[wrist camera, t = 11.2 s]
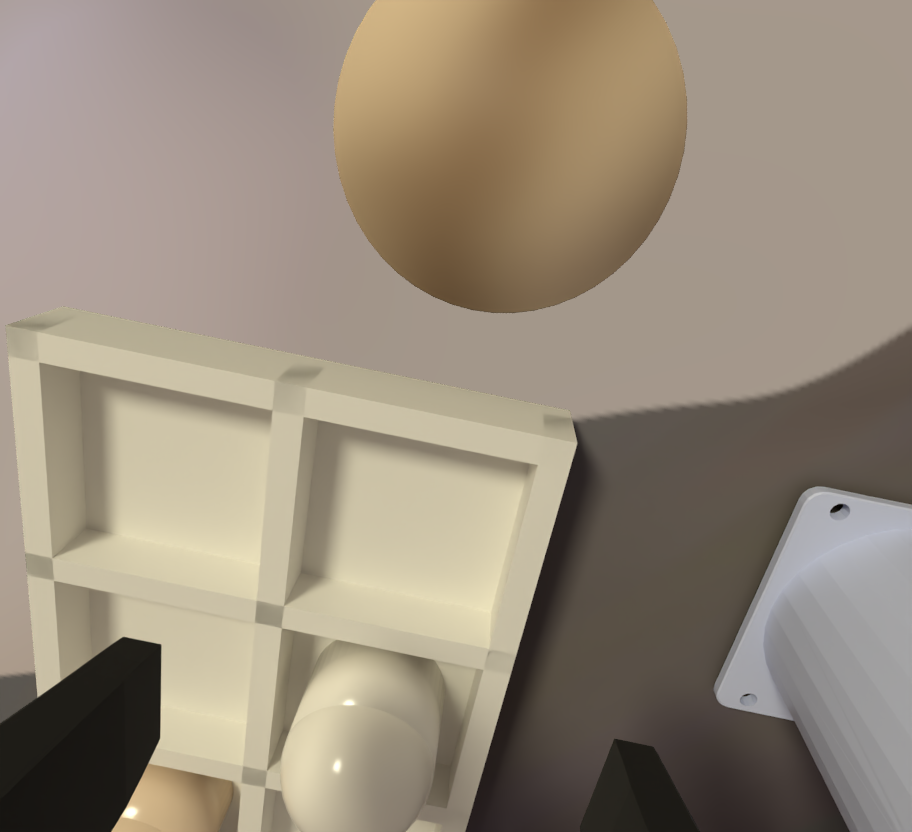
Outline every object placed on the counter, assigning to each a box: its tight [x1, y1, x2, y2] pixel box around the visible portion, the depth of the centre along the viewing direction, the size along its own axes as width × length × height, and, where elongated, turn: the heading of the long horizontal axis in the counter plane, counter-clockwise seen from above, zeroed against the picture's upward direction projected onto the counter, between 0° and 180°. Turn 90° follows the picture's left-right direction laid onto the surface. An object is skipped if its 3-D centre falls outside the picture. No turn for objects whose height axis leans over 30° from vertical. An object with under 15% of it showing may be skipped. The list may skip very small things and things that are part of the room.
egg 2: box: [280, 640, 445, 832], centre depth 19 cm, size 4×4×5 cm
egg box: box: [6, 306, 577, 832], centre depth 21 cm, size 14×21×2 cm
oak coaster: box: [333, 0, 687, 313], centre depth 15 cm, size 8×8×1 cm
